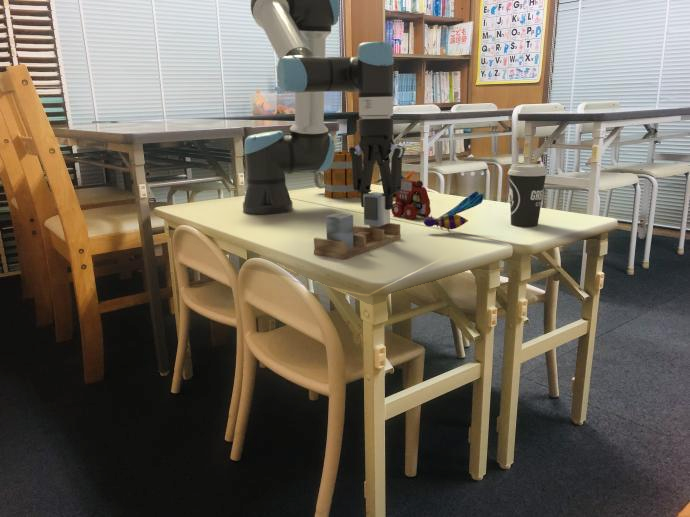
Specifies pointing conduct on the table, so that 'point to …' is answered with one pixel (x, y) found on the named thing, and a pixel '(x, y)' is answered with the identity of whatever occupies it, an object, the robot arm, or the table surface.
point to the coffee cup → (526, 193)
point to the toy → (451, 217)
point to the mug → (339, 177)
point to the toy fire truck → (411, 200)
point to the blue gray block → (372, 209)
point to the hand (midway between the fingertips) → (376, 222)
